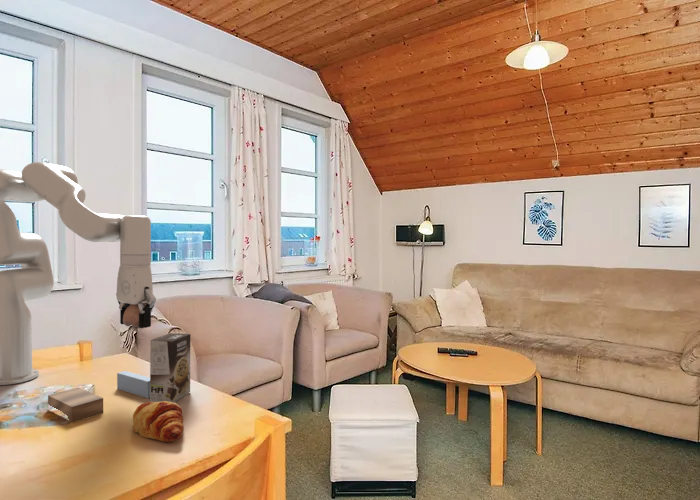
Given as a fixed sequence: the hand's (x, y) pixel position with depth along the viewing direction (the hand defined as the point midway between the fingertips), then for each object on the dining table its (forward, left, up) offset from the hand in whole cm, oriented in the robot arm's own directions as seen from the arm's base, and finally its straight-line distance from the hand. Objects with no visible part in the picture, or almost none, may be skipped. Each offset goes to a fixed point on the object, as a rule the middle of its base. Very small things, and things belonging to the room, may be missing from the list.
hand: (135, 325), depth 125 cm
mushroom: (0, 0, -2) cm, 2 cm away
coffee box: (+13, +1, -18) cm, 22 cm away
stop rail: (+2, -1, -18) cm, 18 cm away
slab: (+2, -17, -18) cm, 25 cm away
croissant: (+27, -13, -18) cm, 35 cm away
